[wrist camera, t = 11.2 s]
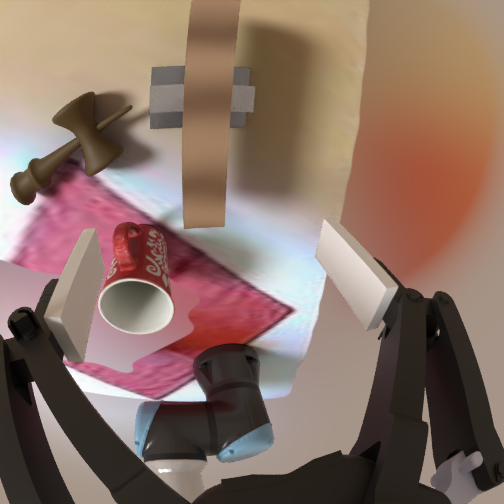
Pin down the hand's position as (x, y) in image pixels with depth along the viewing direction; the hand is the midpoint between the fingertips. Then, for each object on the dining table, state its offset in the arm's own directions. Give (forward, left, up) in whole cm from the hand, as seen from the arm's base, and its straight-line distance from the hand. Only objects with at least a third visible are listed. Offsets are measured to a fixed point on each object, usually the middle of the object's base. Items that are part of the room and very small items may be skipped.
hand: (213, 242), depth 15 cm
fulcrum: (+7, 0, -23) cm, 24 cm away
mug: (-12, +8, -23) cm, 27 cm away
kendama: (+2, +16, -24) cm, 29 cm away
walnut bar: (+7, 0, -17) cm, 18 cm away
